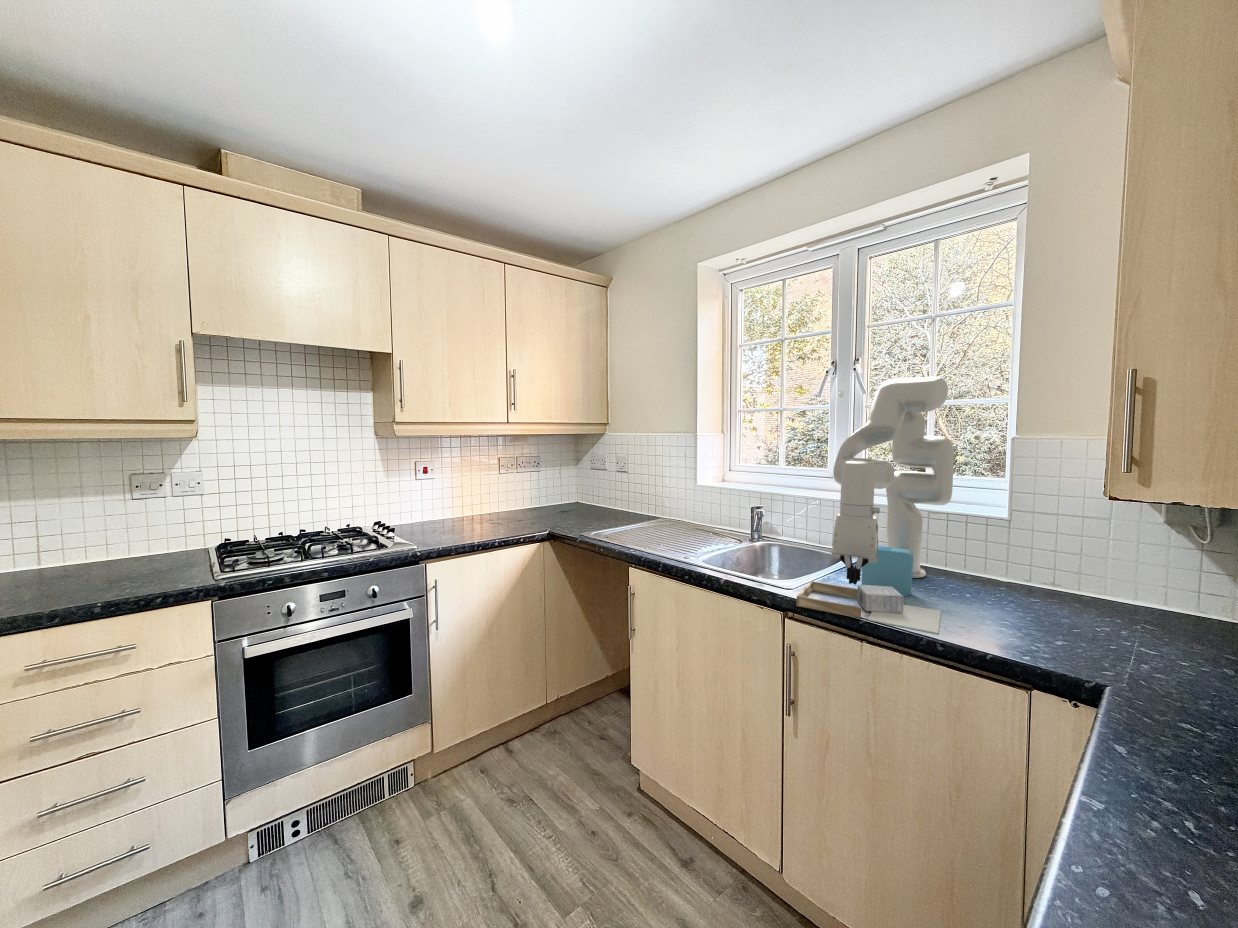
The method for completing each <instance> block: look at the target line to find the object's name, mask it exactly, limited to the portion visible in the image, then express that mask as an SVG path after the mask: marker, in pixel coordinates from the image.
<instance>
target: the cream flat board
mask: <svg viewBox="0 0 1238 928" xmlns="http://www.w3.org/2000/svg"><path fill="white" fill-rule="evenodd" d="M867 620H868V622H869V621H870V622H874V623H880V624H884V625H890V626H894V627H900V628H905V629H909V630H915V631H920V632H924V633H925V632H926V633H929V634H930V633H931V634H936V635H939V631H940V620H941V610H937V609H932V608H926V607H925V608H924V607H920V606H915V605H908V604H904V607H903V613H890V612H874V611H870V615H869V617H868V619H867Z"/></svg>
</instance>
